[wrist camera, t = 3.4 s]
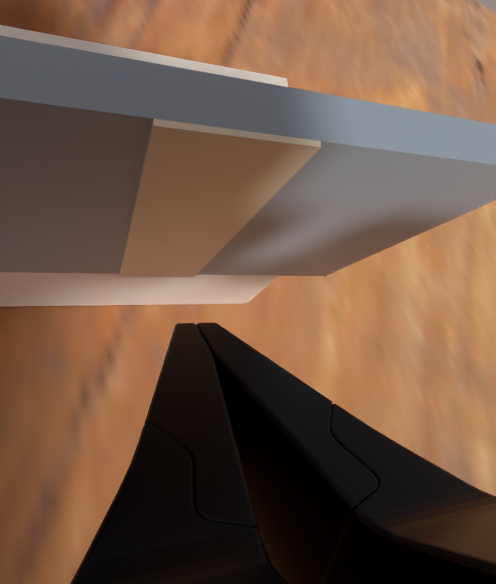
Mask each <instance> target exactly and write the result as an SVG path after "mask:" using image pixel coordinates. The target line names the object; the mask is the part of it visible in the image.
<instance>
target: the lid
mask: <svg viewBox="0 0 496 584" xmlns="http://www.w3.org/2000/svg"><path fill="white" fill-rule="evenodd" d="M495 200H496V124H491V123H485V122H480V121H474V120H469V119H463V118H457V117H452V116H446V115H441V114H435V113H430V112H424V111H418V110H413V109H407V108H402V107H396V106H391V105H385V104H379V103H374V102H368V101H363V100H357V99H352V98H346V97H340V96H335V95H329V94H324V93H318V92H313V91H307V90H302V89H296V88H290V87H285V86H279V85H274V84H268V83H263V82H257V81H251V80H246V79H240V78H235V77H229V76H224V75H218V74H212V73H207V72H201V71H196V70H190V69H185V68H179V67H173V66H168V65H162V64H157V63H151V62H146V61H140V60H134V59H129V58H123V57H118V56H112V55H107V54H101V53H95V52H90V51H84V50H79V49H73V48H68V47H62V46H57V45H51V44H45V43H40V42H34V41H29V40H23V39H18V38H12V37H6V36H1V35H0V272H24V273H110V274H119V277H195V276H196V275H283V276H326V275H328V274H331V273H333V272H335V271H337V270H340V269H342V268H344V267H346V266H349V265H351V264H353V263H355V262H358V261H360V260H362V259H364V258H367V257H369V256H371V255H373V254H375V253H378V252H380V251H382V250H384V249H387V248H389V247H391V246H393V245H396V244H398V243H400V242H402V241H405V240H407V239H409V238H411V237H414V236H416V235H418V234H420V233H423V232H425V231H427V230H429V229H432V228H434V227H436V226H438V225H441V224H443V223H445V222H447V221H450V220H452V219H454V218H456V217H459V216H461V215H463V214H465V213H468V212H470V211H472V210H474V209H477V208H479V207H481V206H483V205H486V204H488V203H490V202H492V201H495Z"/></svg>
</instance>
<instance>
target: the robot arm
mask: <svg viewBox="0 0 496 584" xmlns="http://www.w3.org/2000/svg"><path fill="white" fill-rule="evenodd" d="M70 584H496V496H493V495H491V494H488V493H486V492H483V491H481V490H479V489H477V488H475V487H473V486H471V485H470V484H468V483H466V482H464V481H463V480H461V479H459V478H457V477H456V476H454V475H452V474H450V473H449V472H447V471H445V470H443V469H442V468H440V467H438V466H436V465H435V464H433V463H431V462H429V461H428V460H426V459H424V458H422V457H421V456H419V455H417V454H415V453H414V452H412V451H410V450H408V449H407V448H405V447H403V446H401V445H400V444H398V443H396V442H395V441H393V440H391V439H390V438H388V437H386V436H385V435H383V434H381V433H380V432H378V431H376V430H375V429H373V428H371V427H370V426H368V425H367V424H365V423H364V422H362V421H361V420H359V419H358V418H356V417H354V416H353V415H351V414H350V413H348V412H347V411H345V410H344V409H342V408H341V407H340V406H338V405H337V404H333V405H332V401H330V400H329V399H328V398H326V397H325V396H323V395H322V394H320V393H319V392H317V391H316V390H314V389H313V388H311V387H310V386H308V385H307V384H305V383H304V382H302V381H301V380H299V379H298V378H297V377H295V376H294V375H292V374H291V373H289V372H288V371H286V370H285V369H283V368H282V367H280V366H279V365H277V364H276V363H274V362H273V361H271V360H270V359H269V358H267V357H266V356H264V355H263V354H261V353H260V352H258V351H257V350H255V349H254V348H252V347H251V346H249V345H248V344H246V343H245V342H243V341H242V340H240V339H239V338H238V337H236V336H235V335H233V334H232V333H230V332H229V331H227V330H226V329H224V328H223V327H221V326H220V325H218V324H217V323H198V324H197V325H196V324H194V323H179V324H176V325H175V328H174V331H173V334H172V337H171V340H170V344H169V347H168V350H167V353H166V356H165V360H164V363H163V366H162V369H161V372H160V376H159V379H158V382H157V385H156V388H155V392H154V395H153V398H152V401H151V405H150V408H149V411H148V414H147V417H146V421H145V425H144V426H143V429H142V432H141V436H140V439H139V442H138V445H137V447H136V450H135V453H134V456H133V458H132V461H131V464H130V466H129V468H128V470H127V473H126V475H125V477H124V479H123V481H122V484H121V486H120V488H119V490H118V492H117V494H116V496H115V498H114V500H113V502H112V504H111V506H110V508H109V510H108V512H107V514H106V516H105V518H104V520H103V522H102V523H101V525H100V527H99V529H98V531H97V533H96V535H95V537H94V539H93V541H92V543H91V545H90V547H89V549H88V551H87V553H86V555H85V557H84V559H83V561H82V563H81V565H80V567H79V568H78V570H77V572H76V574H75V576H74V578H73V579H72V581H71V583H70Z"/></svg>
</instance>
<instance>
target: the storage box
mask: <svg viewBox="0 0 496 584" xmlns="http://www.w3.org/2000/svg"><path fill="white" fill-rule="evenodd" d="M0 35H1V36H6V37H12V38H18V39H23V40H29V41H34V42H40V43H45V44H51V45H57V46H62V47H68V48H73V49H79V50H84V51H90V52H95V53H101V54H107V55H112V56H118V57H123V58H129V59H134V60H140V61H146V62H151V63H157V64H162V65H168V66H173V67H179V68H185V69H190V70H196V71H201V72H207V73H212V74H218V75H224V76H229V77H235V78H240V79H246V80H251V81H257V82H263V83H268V84H274V85H279V86H285V87H288V83H287V78H281V77H276V76H271V75H265V74H260V73H255V72H249V71H244V70H239V69H233V68H228V67H223V66H217V65H212V64H207V63H201V62H196V61H190V60H185V59H180V58H174V57H169V56H164V55H158V54H153V53H148V52H142V51H137V50H132V49H126V48H121V47H116V46H110V45H105V44H100V43H94V42H89V41H84V40H78V39H73V38H67V37H62V36H57V35H51V34H46V33H41V32H35V31H30V30H25V29H19V28H14V27H9V26H3V25H0ZM279 276H280V275H196V276H195V277H119V274H110V273H24V272H0V306H1V307H7V306H86V305H164V304H242V303H248V302H249V301H250V300H251V299H252V298H254V297H255V296H256V295H257V294H258V293H260V292H261V291H262V290H263V289H264V288H266V287H267V286H268V285H269V284H271V283H272V282H273V281H274V280H275V279H277V278H278V277H279Z"/></svg>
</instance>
